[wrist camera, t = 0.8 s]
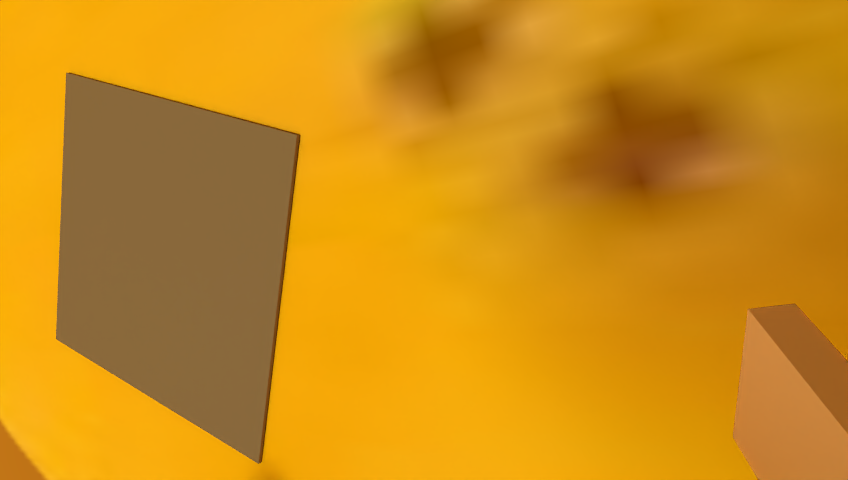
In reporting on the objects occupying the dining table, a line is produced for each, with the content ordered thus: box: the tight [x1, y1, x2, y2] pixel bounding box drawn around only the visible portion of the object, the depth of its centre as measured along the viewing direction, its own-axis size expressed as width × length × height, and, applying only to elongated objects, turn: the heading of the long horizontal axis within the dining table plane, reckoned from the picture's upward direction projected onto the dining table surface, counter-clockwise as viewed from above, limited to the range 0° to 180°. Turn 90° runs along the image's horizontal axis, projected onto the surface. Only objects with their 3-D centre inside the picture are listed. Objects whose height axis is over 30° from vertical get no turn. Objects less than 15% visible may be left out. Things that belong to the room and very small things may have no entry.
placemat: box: [56, 73, 300, 464], centre depth 43 cm, size 18×20×1 cm
